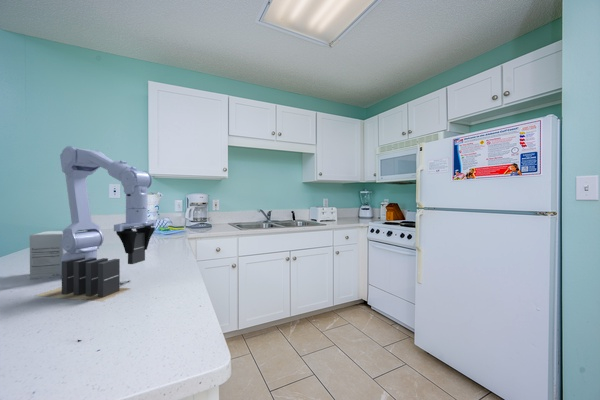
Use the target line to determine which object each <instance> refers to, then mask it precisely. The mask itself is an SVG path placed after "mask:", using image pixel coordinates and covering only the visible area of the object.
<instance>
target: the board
mask: <svg viewBox="0 0 600 400" xmlns="http://www.w3.org/2000/svg"><path fill="white" fill-rule="evenodd" d="M131 289H132V288H127V287H120V291H118V292H115V293H113V294H111V295H108V296H106V297H103V298H102V297H98V294H96V295H94V296H91V297H89V296H86V293H84V294H82V295H79V296H76V295H74V292H73V293H70V294H67V295H63V294H62V286H60V287H58V288H54V289H51V290H49V291H44V292H41V293H39V294H36V295H35V294H34V297H44V298H45V297H46V298H56V299H69V300H81V301H92V302H93V301H94V302H104V301H106V300H109V299H111V298H113V297H115V296H117V295H118V296H119V295H120V294H123V293H124V292H127V291H129V290H131Z"/></svg>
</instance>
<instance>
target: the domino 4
mask: <svg viewBox="0 0 600 400" xmlns="http://www.w3.org/2000/svg"><path fill="white" fill-rule="evenodd" d="M120 263H121V262H120V258H112V259H110V260H109V259H108V261H105V262H101V263H98V297H102V298H103V297H106V296H108V295H111V294H113V293H115V292H118V291H120V288H121V287H120V286H121V284H120V283H121V282H120V279H121V275H120V274H121V273H120V272H121V271H120V268H121V267H120V266H121V265H120Z"/></svg>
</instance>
